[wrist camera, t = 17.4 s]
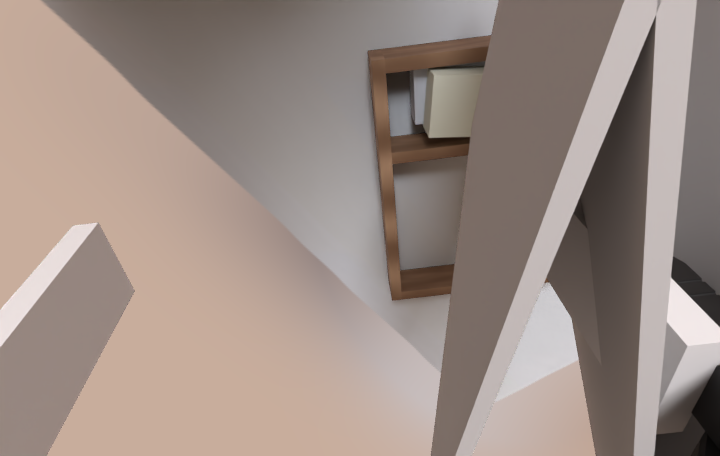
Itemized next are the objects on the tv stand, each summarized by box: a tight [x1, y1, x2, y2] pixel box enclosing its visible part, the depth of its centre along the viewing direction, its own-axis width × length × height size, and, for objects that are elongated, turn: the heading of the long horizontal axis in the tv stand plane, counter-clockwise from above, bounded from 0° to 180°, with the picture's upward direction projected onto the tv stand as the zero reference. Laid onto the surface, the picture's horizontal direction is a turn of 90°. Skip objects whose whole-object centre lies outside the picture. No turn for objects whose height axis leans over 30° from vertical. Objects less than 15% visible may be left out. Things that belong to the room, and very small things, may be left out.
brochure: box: [431, 0, 720, 456], centre depth 19 cm, size 14×6×30 cm, turn 177°
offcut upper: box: [423, 66, 484, 138], centre depth 40 cm, size 6×12×3 cm, turn 90°
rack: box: [368, 35, 549, 301], centre depth 47 cm, size 28×21×4 cm
